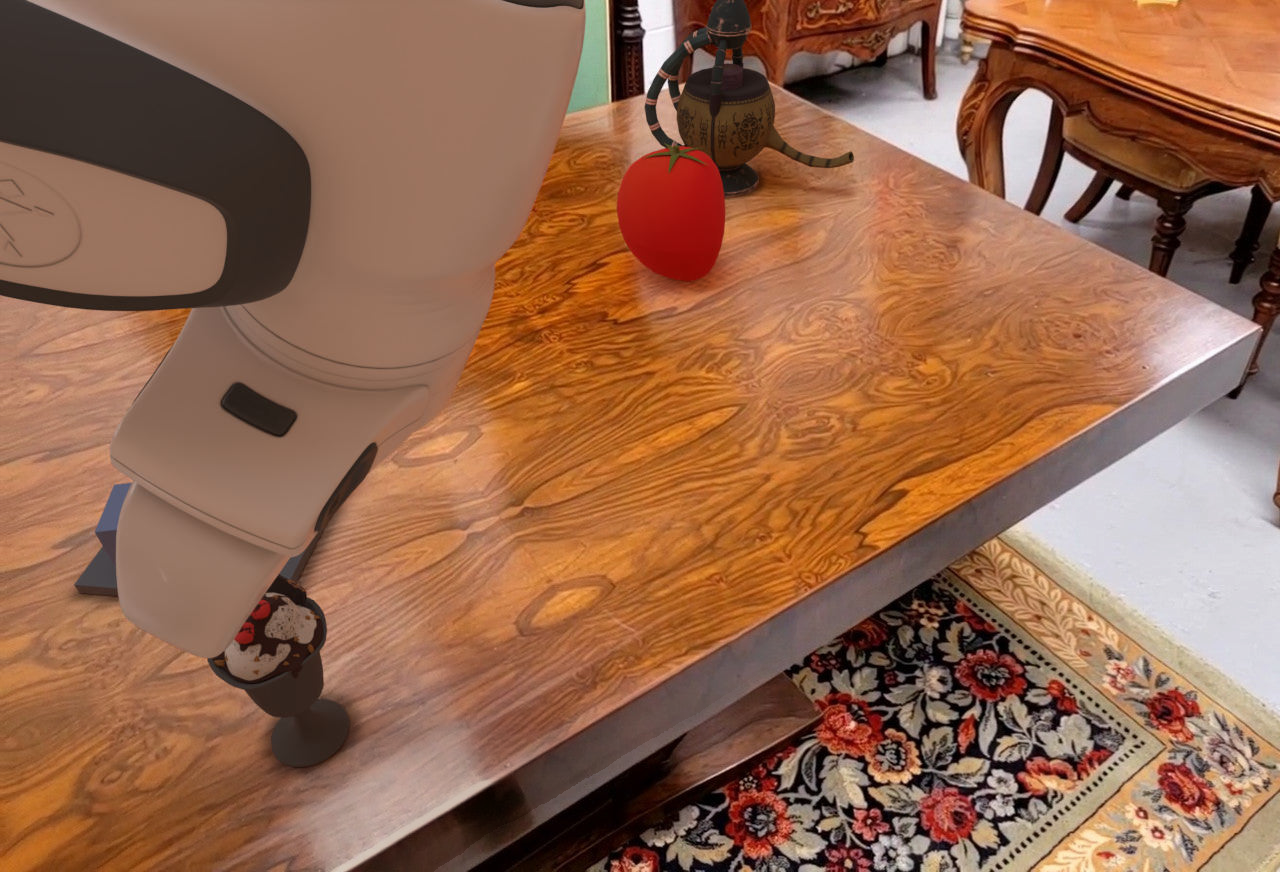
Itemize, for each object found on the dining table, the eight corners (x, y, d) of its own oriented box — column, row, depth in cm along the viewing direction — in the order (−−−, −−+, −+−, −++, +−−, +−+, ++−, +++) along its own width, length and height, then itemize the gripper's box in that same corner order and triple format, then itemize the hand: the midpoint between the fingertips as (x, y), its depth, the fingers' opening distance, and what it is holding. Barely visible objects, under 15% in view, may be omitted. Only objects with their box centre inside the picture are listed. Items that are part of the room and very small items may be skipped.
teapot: (671, 153, 127) (671, -33, 111) (856, 176, 120) (883, -18, 105) (642, 192, 118) (637, -4, 103) (840, 219, 112) (866, 14, 96)
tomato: (748, 275, 102) (756, 151, 93) (669, 313, 97) (669, 186, 88) (674, 233, 110) (674, 115, 101) (596, 266, 105) (589, 144, 95)
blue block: (121, 578, 70) (94, 532, 66) (138, 530, 73) (113, 484, 70) (190, 570, 70) (166, 523, 67) (204, 522, 74) (182, 476, 71)
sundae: (286, 802, 57) (206, 653, 47) (241, 729, 61) (158, 578, 51) (382, 737, 60) (326, 585, 50) (333, 672, 64) (272, 519, 54)
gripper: (404, 133, 40) (351, 335, 50) (66, 479, 26) (88, 658, 37) (535, 209, 40) (456, 392, 51) (271, 583, 27) (236, 730, 37)
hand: (300, 506), depth 44 cm, fingers open, 8 cm apart
